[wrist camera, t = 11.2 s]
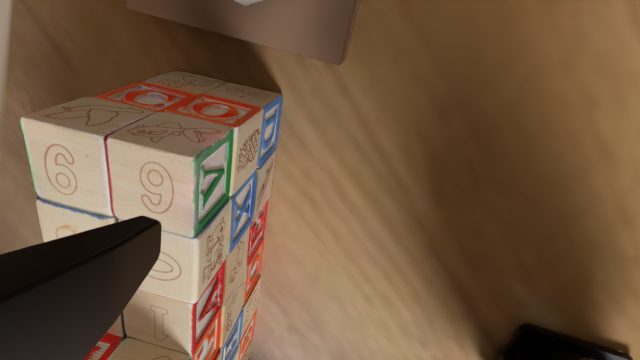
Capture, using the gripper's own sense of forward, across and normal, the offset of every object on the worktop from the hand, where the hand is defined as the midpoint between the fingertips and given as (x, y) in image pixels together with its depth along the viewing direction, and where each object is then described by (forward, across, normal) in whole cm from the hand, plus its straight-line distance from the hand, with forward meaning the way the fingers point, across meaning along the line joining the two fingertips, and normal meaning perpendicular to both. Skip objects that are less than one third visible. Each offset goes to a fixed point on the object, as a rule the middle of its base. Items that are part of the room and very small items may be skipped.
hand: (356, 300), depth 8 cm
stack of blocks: (+13, +8, +10) cm, 19 cm away
